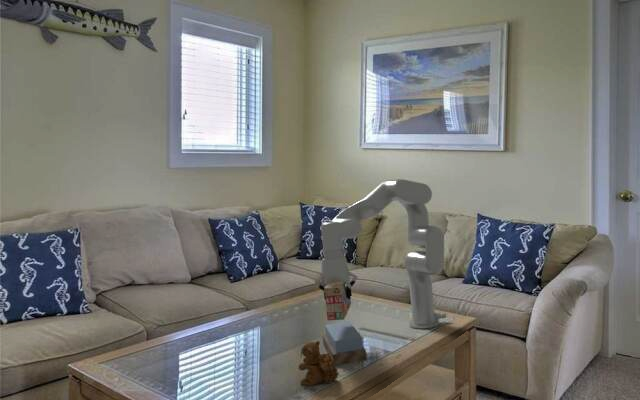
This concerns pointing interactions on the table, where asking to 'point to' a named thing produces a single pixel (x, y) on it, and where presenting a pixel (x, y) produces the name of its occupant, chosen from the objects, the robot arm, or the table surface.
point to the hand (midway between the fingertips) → (338, 299)
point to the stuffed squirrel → (317, 365)
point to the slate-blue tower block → (343, 337)
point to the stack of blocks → (336, 300)
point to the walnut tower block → (344, 354)
